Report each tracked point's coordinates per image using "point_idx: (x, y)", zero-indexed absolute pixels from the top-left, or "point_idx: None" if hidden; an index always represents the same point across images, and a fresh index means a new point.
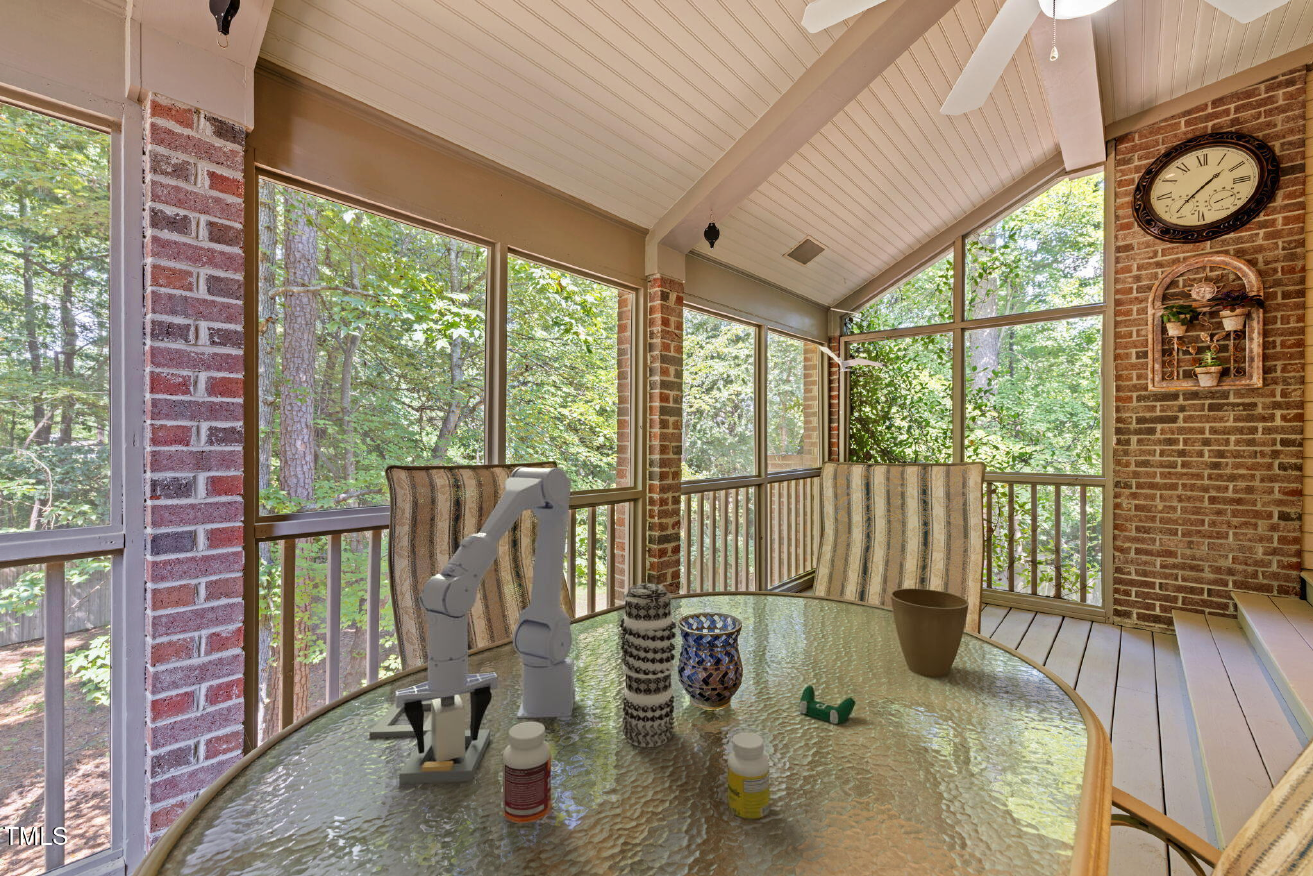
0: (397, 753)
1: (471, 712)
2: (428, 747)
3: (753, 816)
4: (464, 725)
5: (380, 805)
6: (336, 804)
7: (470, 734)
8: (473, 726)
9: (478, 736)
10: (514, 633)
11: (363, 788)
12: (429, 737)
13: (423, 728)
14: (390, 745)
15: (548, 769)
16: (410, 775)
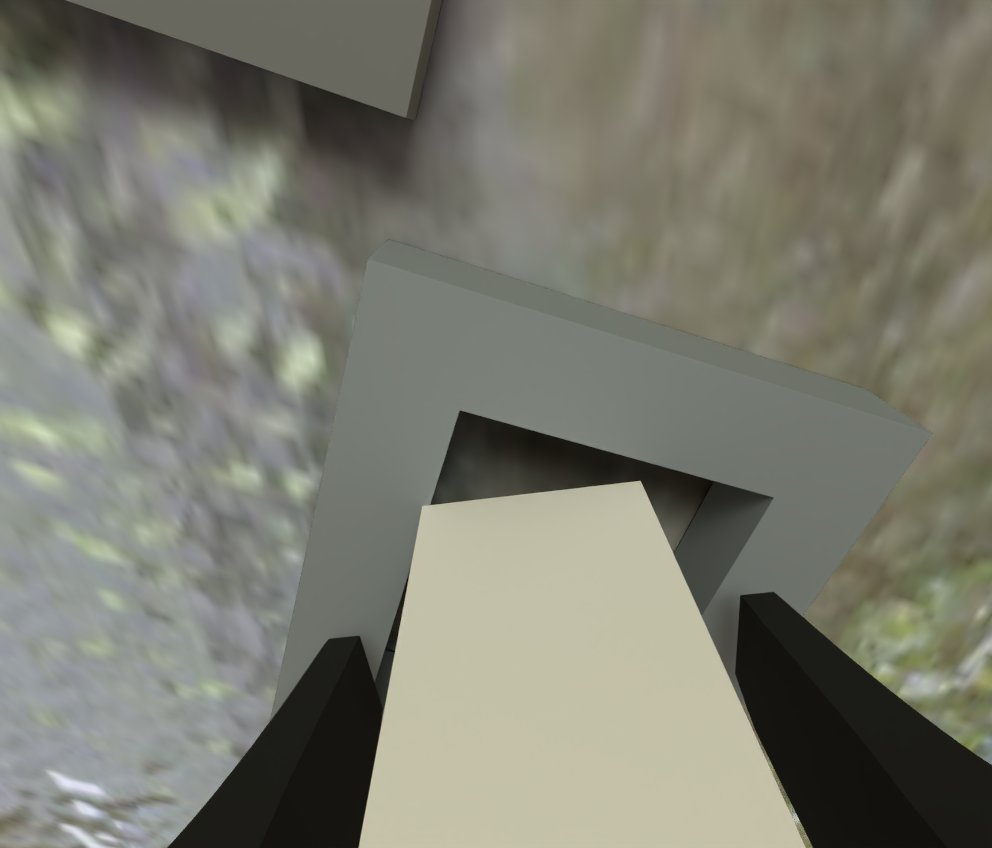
0: (165, 313)
1: (863, 773)
2: (405, 547)
3: None
4: None
5: (233, 765)
6: (11, 711)
7: (742, 601)
8: (792, 779)
9: (798, 519)
10: None
11: (91, 636)
12: (398, 394)
13: (310, 31)
14: (49, 136)
15: None
16: None
